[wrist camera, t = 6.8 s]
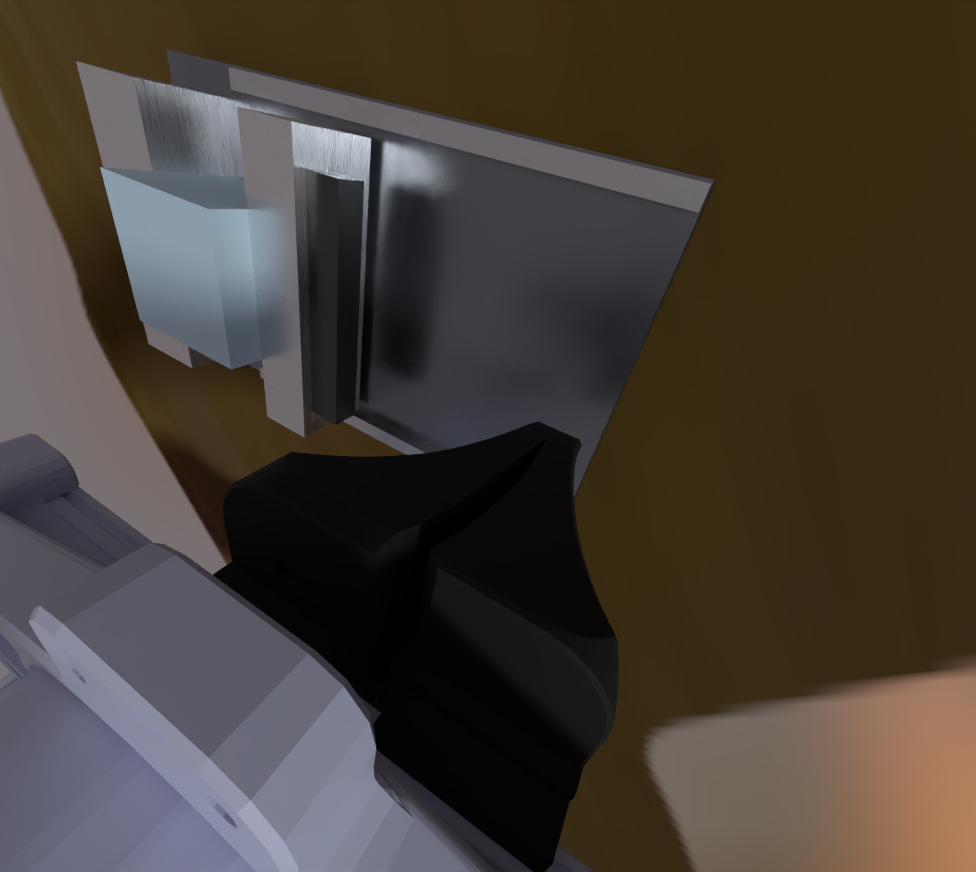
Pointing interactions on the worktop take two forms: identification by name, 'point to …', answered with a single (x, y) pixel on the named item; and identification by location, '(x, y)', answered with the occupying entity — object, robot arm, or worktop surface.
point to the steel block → (189, 258)
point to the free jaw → (307, 263)
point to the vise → (448, 250)
